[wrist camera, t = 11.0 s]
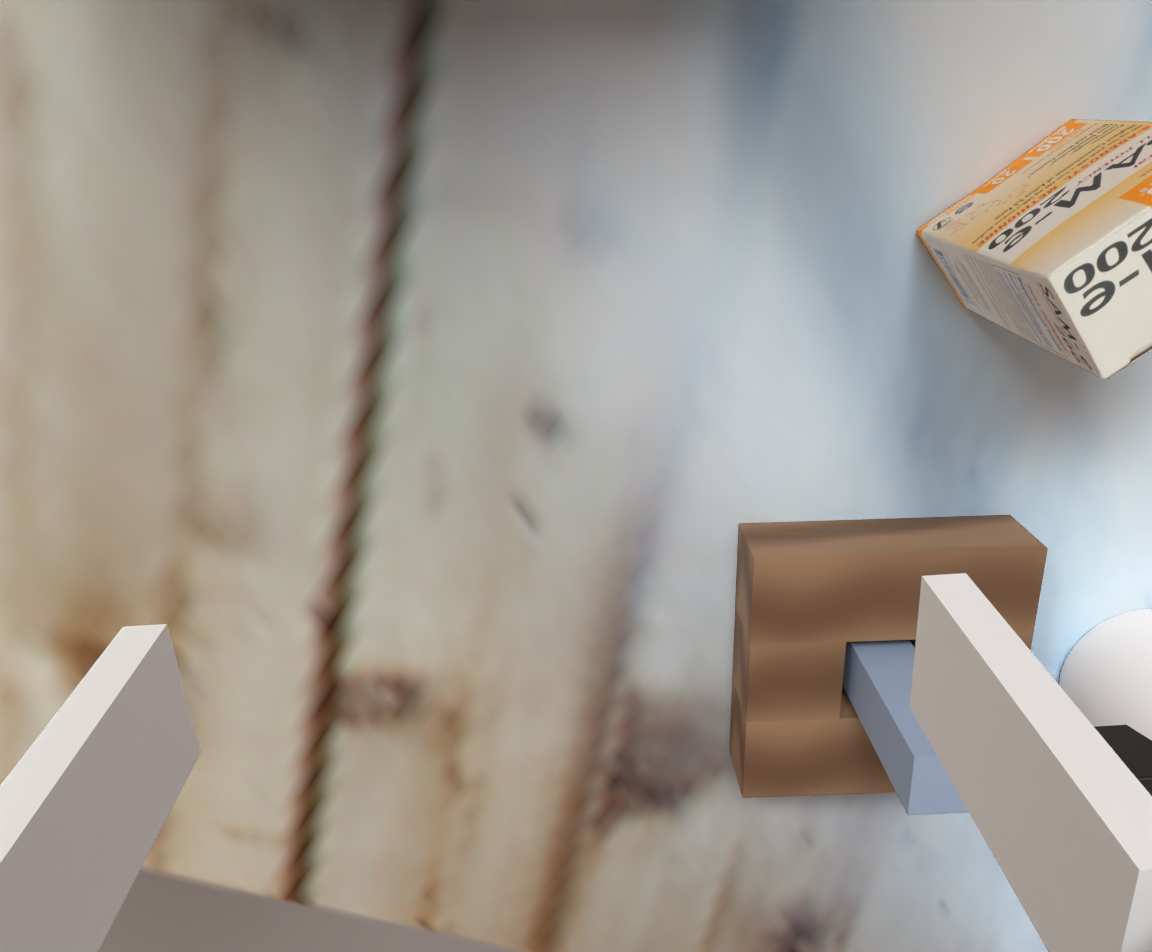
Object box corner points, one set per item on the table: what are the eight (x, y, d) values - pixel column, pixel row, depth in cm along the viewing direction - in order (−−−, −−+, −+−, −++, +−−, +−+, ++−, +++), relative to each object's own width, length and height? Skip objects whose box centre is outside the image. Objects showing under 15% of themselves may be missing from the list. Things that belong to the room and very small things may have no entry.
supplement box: (1069, 112, 42) (1280, 114, 30) (1116, 202, 44) (1336, 239, 31) (907, 228, 44) (1045, 275, 32) (958, 311, 45) (1109, 387, 33)
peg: (834, 614, 51) (914, 757, 40) (890, 612, 51) (986, 754, 40) (831, 663, 52) (907, 814, 41) (885, 661, 52) (977, 812, 41)
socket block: (738, 523, 49) (754, 557, 45) (1010, 514, 49) (1047, 548, 45) (729, 750, 54) (742, 797, 50) (975, 741, 54) (1006, 787, 50)
